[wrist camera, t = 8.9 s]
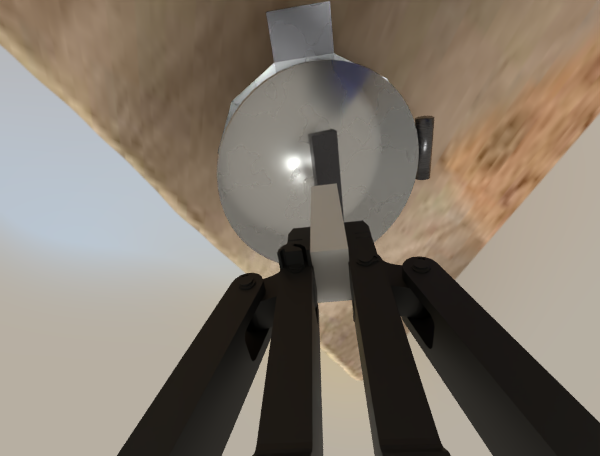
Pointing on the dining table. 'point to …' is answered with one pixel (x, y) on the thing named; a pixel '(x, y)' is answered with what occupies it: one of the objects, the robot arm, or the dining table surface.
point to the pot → (313, 47)
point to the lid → (316, 152)
